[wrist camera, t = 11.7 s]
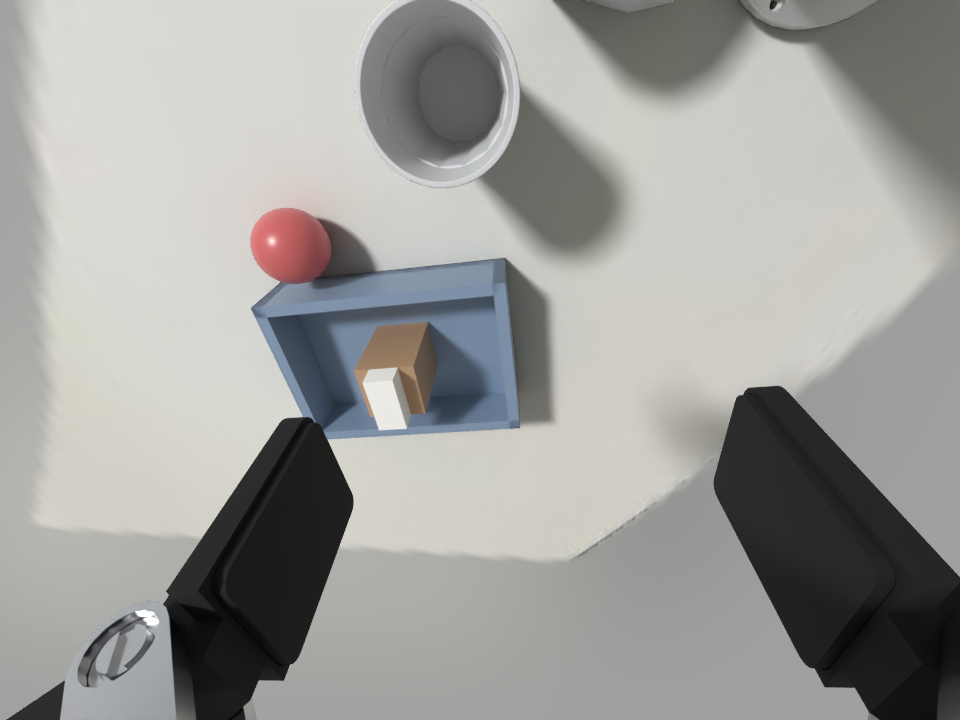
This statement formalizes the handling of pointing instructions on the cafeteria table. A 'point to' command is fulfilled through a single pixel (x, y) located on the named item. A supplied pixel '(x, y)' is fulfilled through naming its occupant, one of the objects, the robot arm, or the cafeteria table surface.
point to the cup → (437, 90)
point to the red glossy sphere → (290, 246)
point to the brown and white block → (397, 373)
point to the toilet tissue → (630, 4)
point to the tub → (389, 301)
